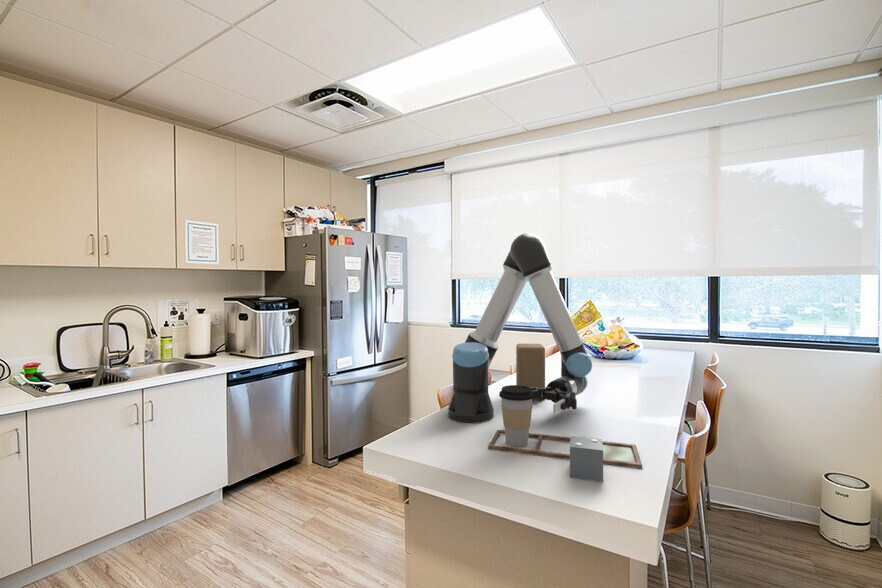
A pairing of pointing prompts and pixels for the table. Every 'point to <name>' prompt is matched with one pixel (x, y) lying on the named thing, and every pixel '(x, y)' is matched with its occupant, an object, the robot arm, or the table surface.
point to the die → (586, 458)
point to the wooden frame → (611, 454)
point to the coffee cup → (516, 413)
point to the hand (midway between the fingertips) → (532, 405)
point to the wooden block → (530, 365)
